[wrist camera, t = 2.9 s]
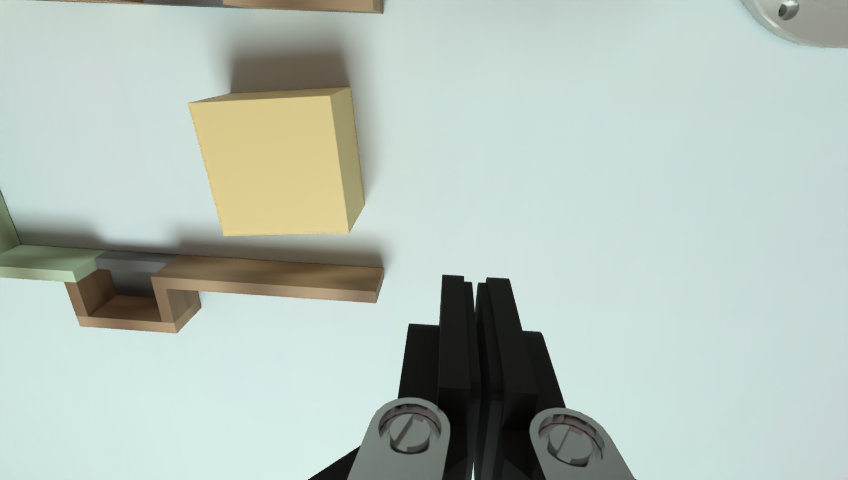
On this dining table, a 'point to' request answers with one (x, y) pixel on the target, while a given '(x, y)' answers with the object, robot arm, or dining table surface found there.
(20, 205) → the dining table surface
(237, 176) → the block
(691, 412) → the dining table surface
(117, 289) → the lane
